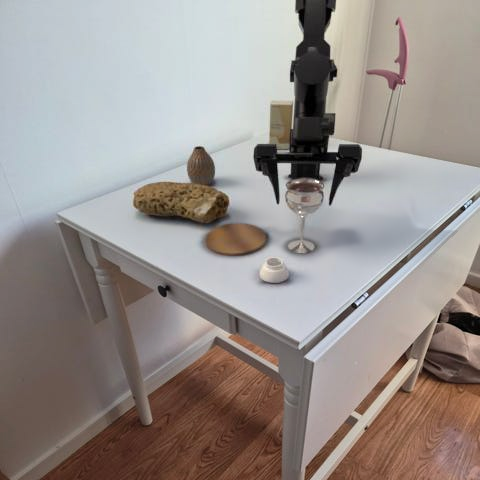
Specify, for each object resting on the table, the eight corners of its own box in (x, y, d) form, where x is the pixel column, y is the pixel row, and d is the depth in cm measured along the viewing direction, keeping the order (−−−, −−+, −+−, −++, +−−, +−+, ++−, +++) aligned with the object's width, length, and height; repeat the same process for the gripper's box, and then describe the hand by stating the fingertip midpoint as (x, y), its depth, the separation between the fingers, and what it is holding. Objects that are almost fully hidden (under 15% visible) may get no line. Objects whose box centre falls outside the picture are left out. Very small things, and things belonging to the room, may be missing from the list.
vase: (217, 178, 109) (215, 142, 103) (214, 188, 103) (211, 152, 98) (191, 178, 109) (187, 143, 104) (186, 189, 104) (181, 152, 98)
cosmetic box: (268, 149, 124) (268, 104, 116) (270, 144, 127) (270, 100, 120) (290, 149, 123) (292, 103, 115) (291, 145, 126) (293, 100, 119)
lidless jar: (273, 265, 76) (253, 277, 73) (273, 251, 74) (253, 262, 71) (294, 275, 73) (275, 288, 70) (295, 261, 71) (275, 273, 68)
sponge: (233, 216, 94) (165, 182, 100) (234, 187, 88) (161, 152, 94) (196, 250, 88) (126, 211, 94) (194, 222, 81) (119, 182, 88)
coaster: (247, 220, 90) (247, 218, 89) (277, 244, 81) (277, 242, 81) (195, 235, 86) (195, 233, 85) (222, 262, 77) (222, 259, 77)
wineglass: (278, 252, 79) (280, 190, 71) (289, 235, 84) (291, 175, 76) (314, 258, 77) (319, 195, 69) (323, 240, 82) (329, 180, 74)
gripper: (253, 93, 70) (246, 184, 69) (369, 92, 67) (364, 186, 66) (259, 130, 81) (253, 209, 80) (359, 130, 78) (355, 211, 77)
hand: (303, 204), depth 75 cm, fingers open, 9 cm apart
